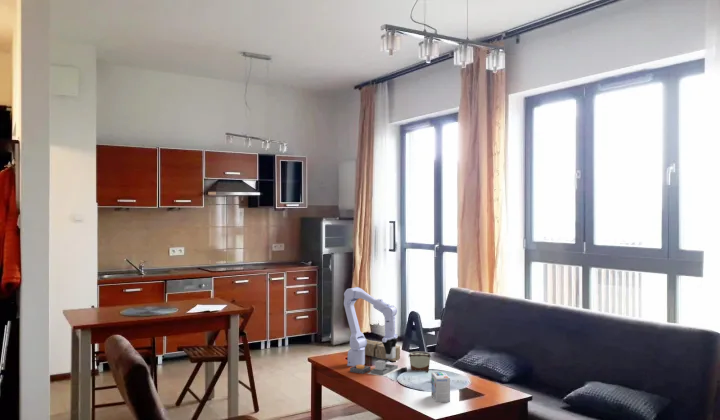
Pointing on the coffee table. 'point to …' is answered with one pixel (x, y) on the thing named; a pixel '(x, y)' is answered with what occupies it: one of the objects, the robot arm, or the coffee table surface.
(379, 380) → the coffee table surface
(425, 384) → the coffee table surface
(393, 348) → the billet
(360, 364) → the button
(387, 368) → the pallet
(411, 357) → the food container
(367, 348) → the block tower
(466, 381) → the coffee table surface
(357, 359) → the robot arm
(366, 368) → the button housing
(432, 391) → the light bulb box
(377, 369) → the seated billet
